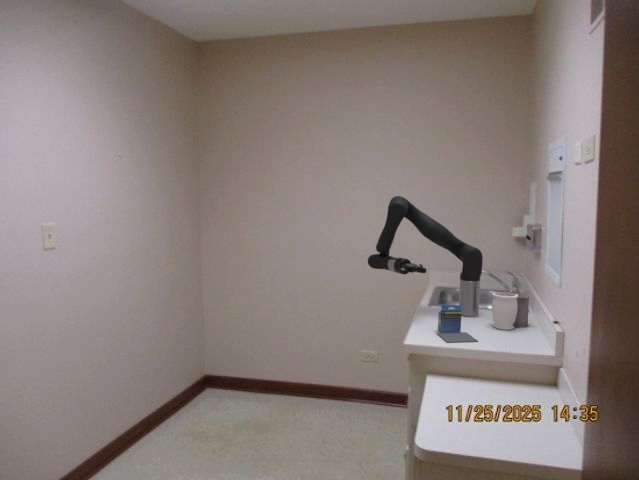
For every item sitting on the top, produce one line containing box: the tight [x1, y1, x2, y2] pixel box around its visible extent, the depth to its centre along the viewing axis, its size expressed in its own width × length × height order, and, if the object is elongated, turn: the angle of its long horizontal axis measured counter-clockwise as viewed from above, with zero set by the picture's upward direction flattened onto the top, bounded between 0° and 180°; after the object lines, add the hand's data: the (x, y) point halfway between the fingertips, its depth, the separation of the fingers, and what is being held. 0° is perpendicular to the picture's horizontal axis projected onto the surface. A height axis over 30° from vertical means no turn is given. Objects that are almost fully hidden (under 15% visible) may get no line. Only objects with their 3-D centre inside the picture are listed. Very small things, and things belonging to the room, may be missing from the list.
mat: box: [436, 331, 479, 344], centre depth 194 cm, size 12×13×1 cm
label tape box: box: [437, 304, 462, 333], centre depth 201 cm, size 9×4×12 cm, turn 92°
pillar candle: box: [510, 291, 530, 328], centre depth 213 cm, size 10×10×15 cm
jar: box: [491, 291, 518, 331], centre depth 208 cm, size 11×10×15 cm
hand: (424, 270), depth 213 cm, fingers closed
